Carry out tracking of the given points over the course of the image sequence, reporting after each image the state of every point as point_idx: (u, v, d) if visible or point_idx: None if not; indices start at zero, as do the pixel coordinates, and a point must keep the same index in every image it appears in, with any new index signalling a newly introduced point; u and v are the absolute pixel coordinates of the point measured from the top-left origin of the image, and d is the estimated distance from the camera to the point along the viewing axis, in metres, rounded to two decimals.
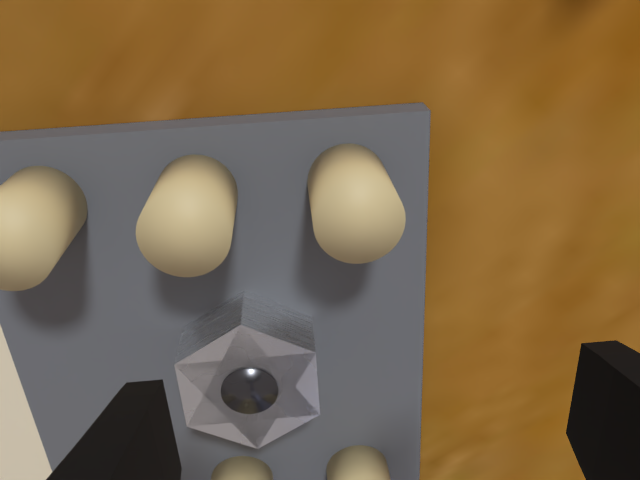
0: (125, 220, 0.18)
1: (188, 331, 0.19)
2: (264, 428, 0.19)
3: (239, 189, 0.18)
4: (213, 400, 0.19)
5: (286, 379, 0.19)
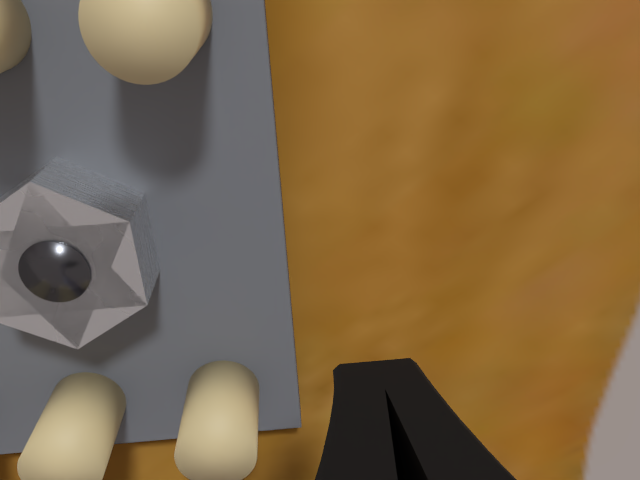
0: None
1: None
2: (81, 322, 0.16)
3: (31, 19, 0.15)
4: (15, 285, 0.16)
5: (98, 257, 0.15)
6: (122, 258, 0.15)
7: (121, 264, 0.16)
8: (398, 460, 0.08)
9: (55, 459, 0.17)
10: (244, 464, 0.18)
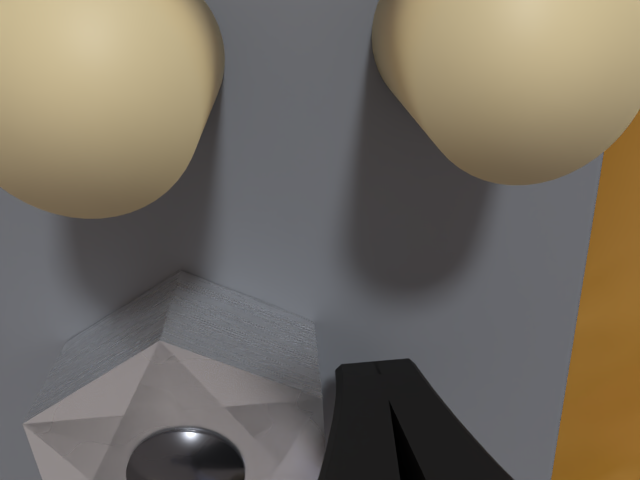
0: None
1: (70, 350, 0.10)
2: None
3: (227, 47, 0.08)
4: None
5: (261, 451, 0.09)
6: (300, 452, 0.09)
7: (297, 460, 0.09)
8: None
9: None
10: None
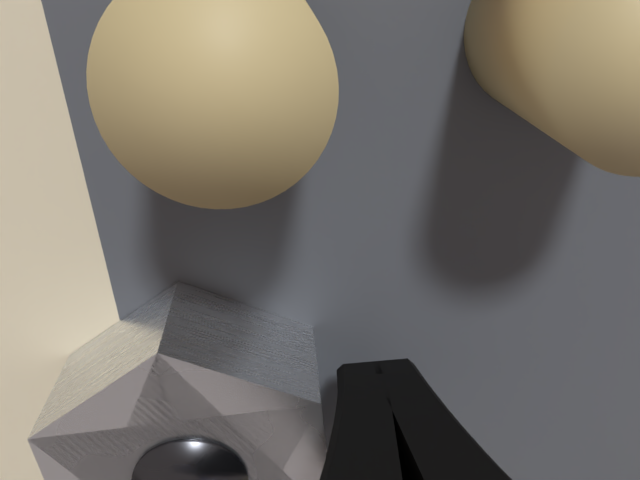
0: (389, 87, 0.09)
1: (73, 364, 0.10)
2: None
3: None
4: None
5: (263, 458, 0.09)
6: (302, 457, 0.09)
7: (300, 465, 0.09)
8: None
9: None
10: None
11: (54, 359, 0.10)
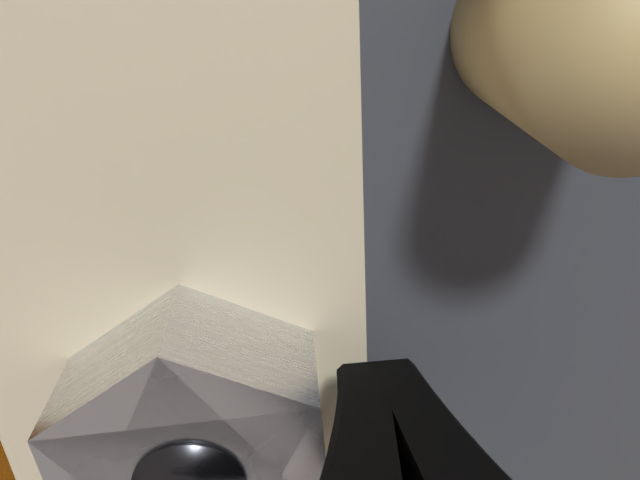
0: None
1: (73, 367, 0.10)
2: None
3: None
4: None
5: (262, 462, 0.09)
6: (301, 461, 0.09)
7: (298, 469, 0.09)
8: None
9: None
10: None
11: None
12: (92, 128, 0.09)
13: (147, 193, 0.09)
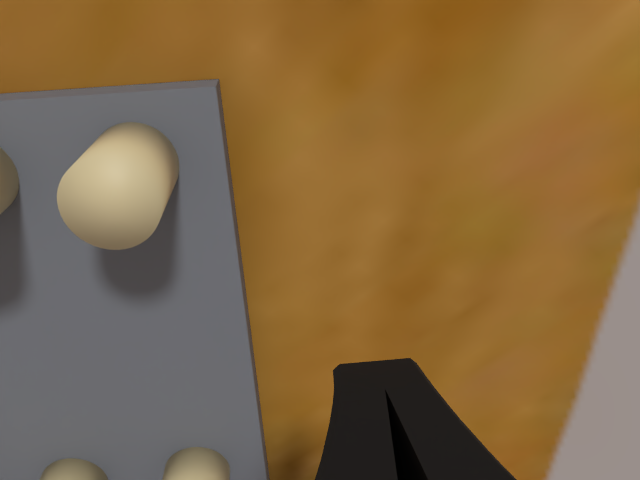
0: None
1: None
2: None
3: (19, 171, 0.17)
4: None
5: None
6: None
7: None
8: (398, 460, 0.08)
9: None
10: None
11: None
12: None
13: None
